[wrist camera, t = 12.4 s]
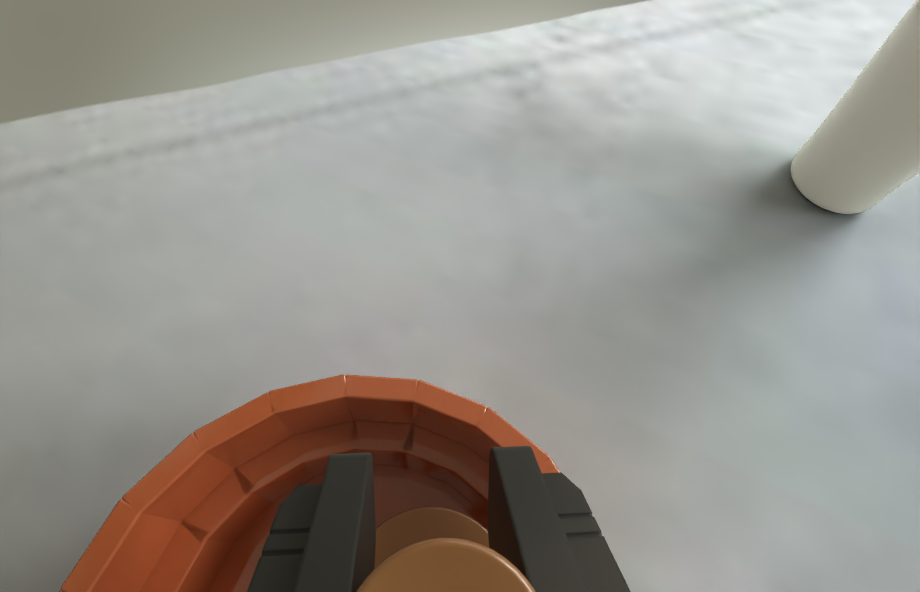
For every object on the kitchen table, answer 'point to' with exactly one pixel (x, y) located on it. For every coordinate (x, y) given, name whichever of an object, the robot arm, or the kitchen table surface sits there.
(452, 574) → the wooden knob stand
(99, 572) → the bowl
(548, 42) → the kitchen table surface
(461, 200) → the kitchen table surface
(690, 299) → the kitchen table surface
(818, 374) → the kitchen table surface
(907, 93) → the drinking glass
